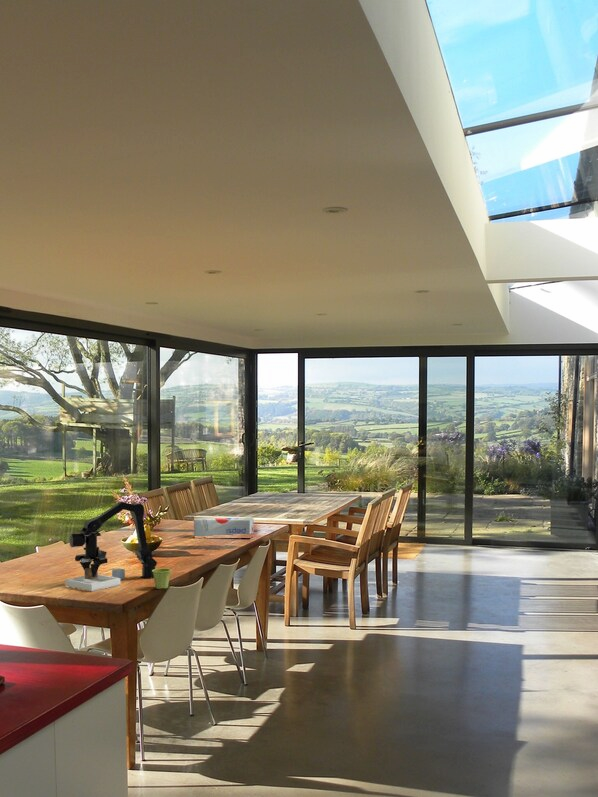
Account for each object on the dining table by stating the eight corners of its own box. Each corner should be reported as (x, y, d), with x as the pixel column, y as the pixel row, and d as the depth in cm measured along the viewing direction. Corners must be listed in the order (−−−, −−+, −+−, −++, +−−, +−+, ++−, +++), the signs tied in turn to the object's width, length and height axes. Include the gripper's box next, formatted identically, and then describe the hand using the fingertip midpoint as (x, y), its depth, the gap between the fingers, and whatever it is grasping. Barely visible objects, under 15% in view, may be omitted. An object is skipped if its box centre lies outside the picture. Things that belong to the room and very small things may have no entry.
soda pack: (254, 537, 549) (254, 517, 549) (250, 540, 536) (250, 519, 537) (198, 536, 555) (198, 516, 555) (193, 538, 542) (193, 518, 543)
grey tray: (120, 585, 391) (120, 578, 391) (91, 591, 376) (91, 584, 376) (94, 580, 402) (94, 573, 402) (65, 586, 388) (65, 579, 388)
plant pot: (148, 589, 382) (148, 571, 382) (158, 585, 391) (158, 567, 391) (164, 590, 379) (164, 572, 379) (174, 586, 387) (174, 568, 388)
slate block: (124, 578, 407) (124, 569, 407) (118, 580, 403) (118, 570, 403) (118, 577, 409) (118, 568, 410) (112, 579, 406) (112, 569, 406)
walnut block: (97, 578, 394) (97, 568, 394) (90, 579, 390) (90, 569, 390) (91, 577, 396) (91, 567, 396) (84, 578, 393) (84, 568, 393)
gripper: (115, 544, 395) (115, 575, 394) (91, 541, 406) (91, 571, 405) (98, 547, 386) (98, 579, 385) (74, 544, 397) (74, 575, 396)
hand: (91, 576), depth 393 cm, fingers closed on walnut block, 4 cm apart
